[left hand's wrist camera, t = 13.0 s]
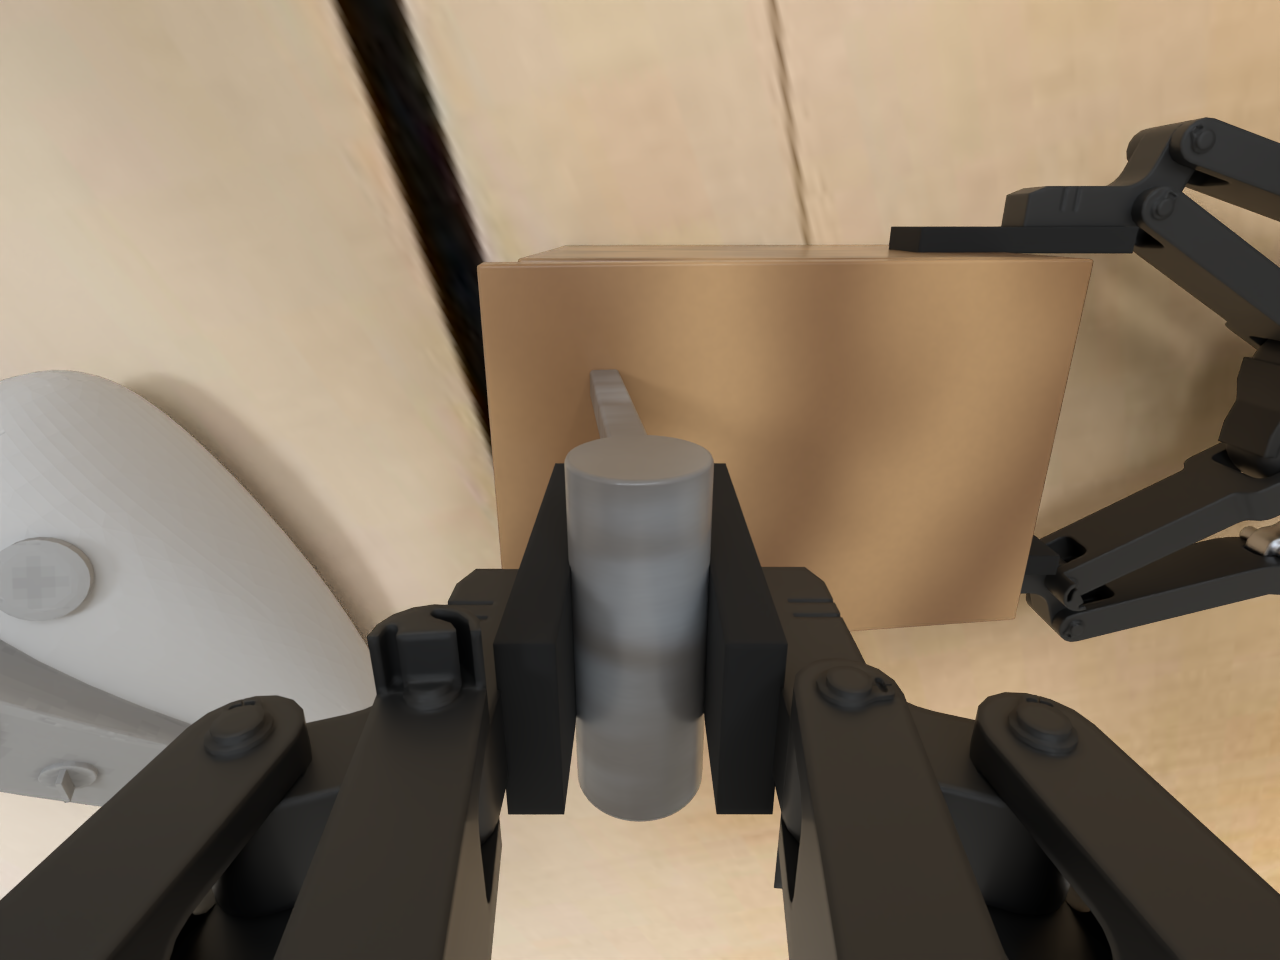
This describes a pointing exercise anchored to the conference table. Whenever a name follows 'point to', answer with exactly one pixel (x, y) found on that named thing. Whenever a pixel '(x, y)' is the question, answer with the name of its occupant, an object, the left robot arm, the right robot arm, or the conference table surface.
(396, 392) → the conference table surface
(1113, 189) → the right robot arm
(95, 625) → the projector
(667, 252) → the chest
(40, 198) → the conference table surface
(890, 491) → the lid
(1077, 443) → the conference table surface
